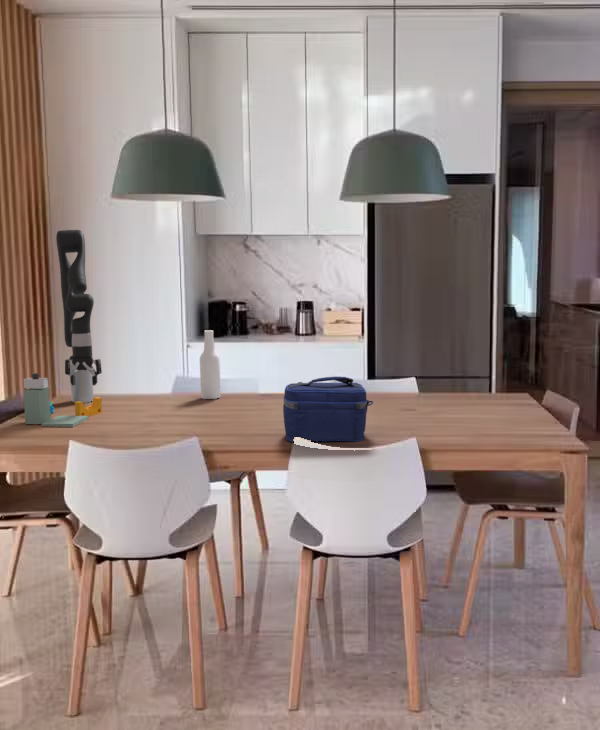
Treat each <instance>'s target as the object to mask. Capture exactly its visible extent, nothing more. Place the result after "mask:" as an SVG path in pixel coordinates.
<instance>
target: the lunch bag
mask: <svg viewBox="0 0 600 730" xmlns="http://www.w3.org/2000/svg"><path fill="white" fill-rule="evenodd" d="M327 381H336V382H327ZM282 398H283V406H282V407H283V409H282V411H283V412H282V413H283V423H284V430H285V439H286V440H287V441H288V442H290V443H291V442H292V443H294V442H293V439H294V437H301V438H304V439H307V440H311V441H316V442H317V443H319V442H318V441H322V442H321V443H324V441H325V442H335V441H336V442H363V441H365V431H366V426H367V423H366V422H367V414H368V413H367V412H368V407H369V406H372V405H373V404H374V400H369V399H367V390H366V389H365V388H364V386H363V385H362V384H360V383H358V382H354V379H353V378H351V377H346V376H327V377H319V378H318V377H317V378H314V379H312V380H310V381H309V382H303V381H298V382H297V383H293V382H292V383H289V384H287V385H286V386H285V388H284V395H283V397H282Z"/></svg>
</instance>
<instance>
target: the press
mask: <svg viewBox="0 0 600 730" xmlns="http://www.w3.org/2000/svg"><path fill="white" fill-rule="evenodd" d="M50 400H51V399H50V387H49V386H48V387H46V388H26V389H25V390H23V402H24V403H23V405H24V407H23V408H24V420H25V422H24V423H25V425H26V424H42V425H41V426H55V427H54V428H74V427H76V426H77V424H78V425H80V424H82V423H83V422H85V421H87V420H89V417H88V416H75V415H58V416H55V417H53V418H52V413H51V414H50V402H51V401H50ZM81 422H82V423H81ZM79 423H80V424H79ZM75 425H76V426H75ZM60 426H61V427H60Z"/></svg>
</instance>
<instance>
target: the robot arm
mask: <svg viewBox="0 0 600 730" xmlns="http://www.w3.org/2000/svg"><path fill="white" fill-rule="evenodd" d="M85 240H86V239H85V235H84V232H83V231H82V230H81V229H66V230H65V229H63V230H58V231H57V232H56V239H55V241H56V247H57V248H56V249H57V254H58V255H57V256H58V262H59V269H60V270H59V272H60V274H59V275H60V290H61V299H62V300H61V301H62V307H63V331H64V334H63V335H64V341H65V342H64V343H65V345H66V347H68V348H72V349H71V351H72V355H71V356H69V358H67V359H65V360H64V373H65V375H67V376H69V380H70V381H69V382H70V393H71V403H74V404H75V402H78V401H80V402H83V404H85V403H92V402H93V398H94V386H96V385H97V384H98V375H100V374H102V373H103V372H102V371H103V370H102V363H101V362H102V361H101V359H100V358H97V359H94V358H93V347H92V346H93V343H92V341H93V339H92V334H91V333H92V332H91V316H92V311H93V309H94V303H95V301H94V298H93V296H92V295H91V294H90V293H86V291H87V288H88V285H87V277H86V276H87V275H86V241H85ZM71 253H77V255H76V257H75V259H74V260H73V262H72V264H71V262H70V261H69V259H68V257H67V254H71ZM77 313H84V314H83V315H82V316H80V317H76V318H74V317H75V315H76V314H77ZM93 364H94V365H95V367H94V366H93ZM91 401H92V402H91Z"/></svg>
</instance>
